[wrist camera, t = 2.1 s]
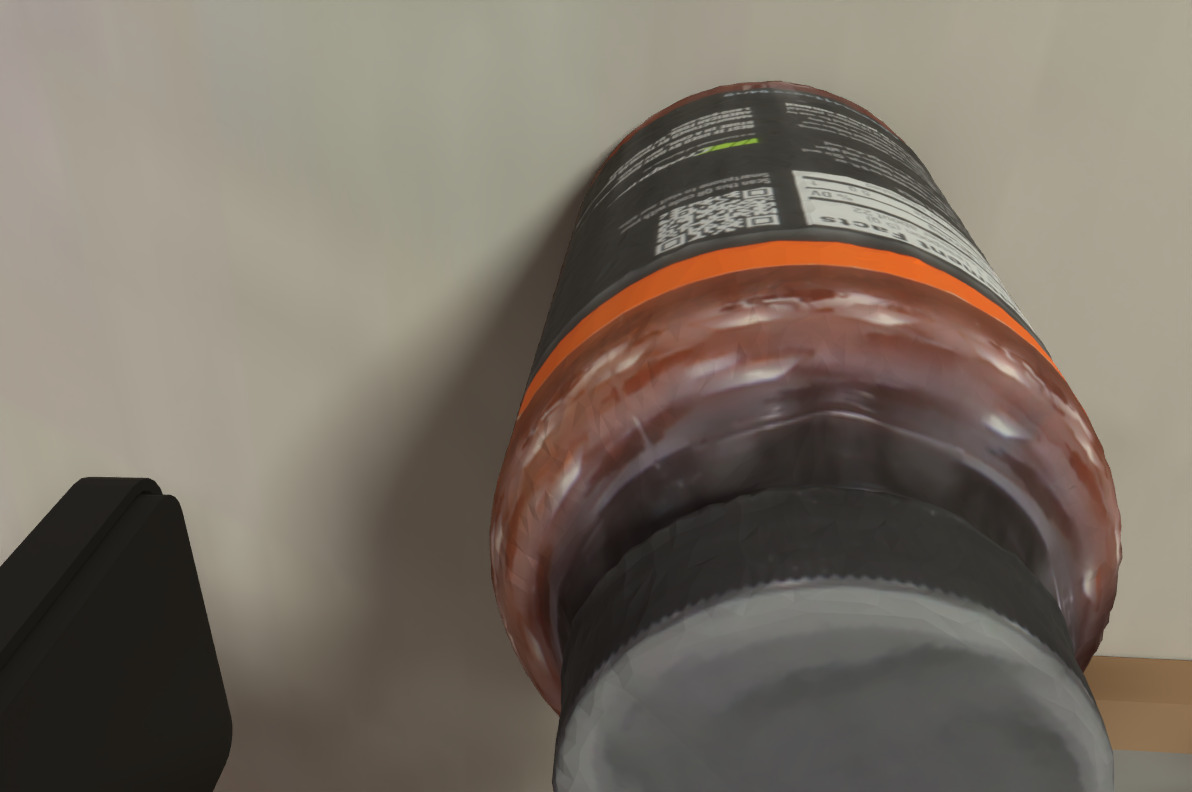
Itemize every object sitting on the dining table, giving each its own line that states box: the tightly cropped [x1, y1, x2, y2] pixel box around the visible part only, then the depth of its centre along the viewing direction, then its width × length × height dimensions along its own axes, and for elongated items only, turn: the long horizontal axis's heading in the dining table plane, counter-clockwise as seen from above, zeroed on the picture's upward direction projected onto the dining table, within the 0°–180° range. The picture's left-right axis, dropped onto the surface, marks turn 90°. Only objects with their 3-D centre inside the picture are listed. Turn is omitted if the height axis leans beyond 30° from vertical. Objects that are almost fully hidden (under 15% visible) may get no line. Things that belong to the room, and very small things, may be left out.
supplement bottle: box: [490, 81, 1122, 792], centre depth 13 cm, size 6×6×11 cm
